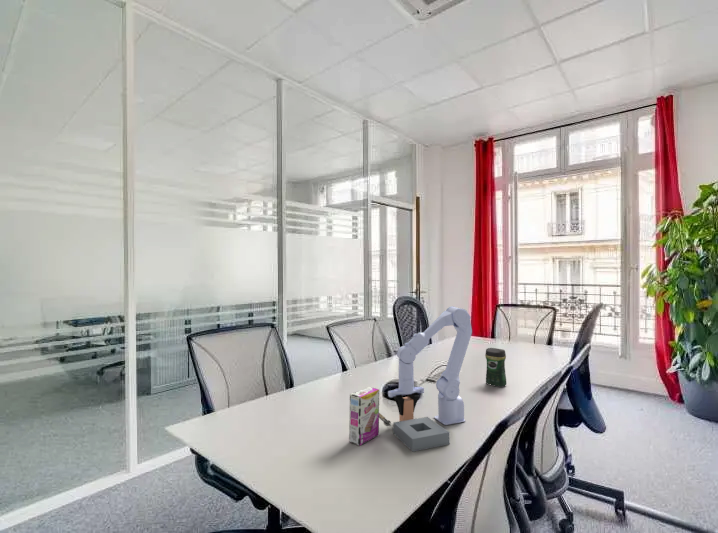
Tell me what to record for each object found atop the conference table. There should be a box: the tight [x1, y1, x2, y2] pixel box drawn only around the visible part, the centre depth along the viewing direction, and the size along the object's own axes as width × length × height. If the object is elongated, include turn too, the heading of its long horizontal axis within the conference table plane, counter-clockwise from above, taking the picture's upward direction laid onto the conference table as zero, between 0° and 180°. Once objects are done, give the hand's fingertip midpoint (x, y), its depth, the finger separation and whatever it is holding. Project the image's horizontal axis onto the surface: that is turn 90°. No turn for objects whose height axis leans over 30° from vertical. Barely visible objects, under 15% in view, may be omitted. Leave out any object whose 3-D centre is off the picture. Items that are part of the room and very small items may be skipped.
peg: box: [398, 396, 415, 422], centre depth 140 cm, size 4×4×9 cm
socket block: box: [392, 416, 450, 452], centre depth 126 cm, size 14×14×4 cm
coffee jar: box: [484, 347, 507, 388], centre depth 186 cm, size 10×8×19 cm
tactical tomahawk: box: [379, 412, 392, 425], centre depth 147 cm, size 21×7×1 cm, turn 18°
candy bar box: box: [348, 386, 380, 447], centre depth 126 cm, size 11×5×16 cm, turn 141°
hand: (406, 413), depth 140 cm, fingers closed on peg, 4 cm apart
